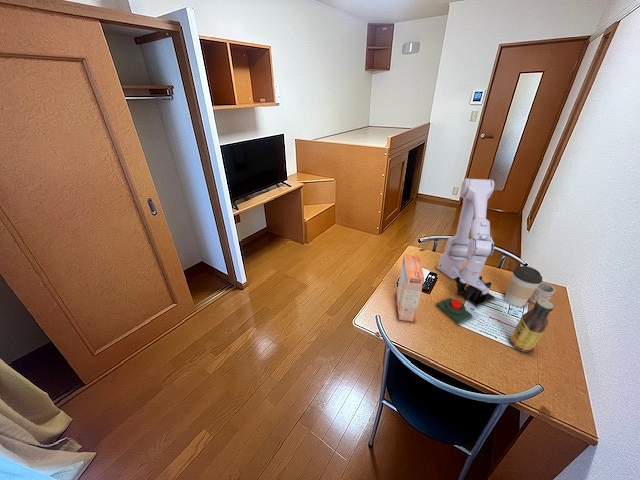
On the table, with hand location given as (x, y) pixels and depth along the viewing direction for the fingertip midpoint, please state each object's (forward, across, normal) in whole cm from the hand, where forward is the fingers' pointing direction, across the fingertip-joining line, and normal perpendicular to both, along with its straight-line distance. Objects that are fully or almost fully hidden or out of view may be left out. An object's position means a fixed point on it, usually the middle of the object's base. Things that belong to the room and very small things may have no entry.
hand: (463, 296), depth 101 cm
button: (+1, +2, -6) cm, 6 cm away
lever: (-1, 0, +5) cm, 5 cm away
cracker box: (+4, -8, -21) cm, 23 cm away
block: (+4, +2, -6) cm, 8 cm away
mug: (+4, +10, +29) cm, 31 cm away
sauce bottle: (+4, +22, +2) cm, 23 cm away
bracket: (+4, 0, +9) cm, 10 cm away
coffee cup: (+4, +8, +21) cm, 23 cm away
